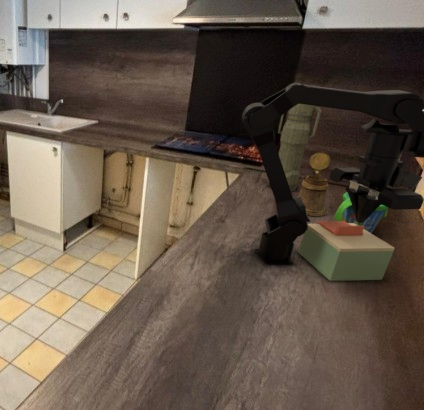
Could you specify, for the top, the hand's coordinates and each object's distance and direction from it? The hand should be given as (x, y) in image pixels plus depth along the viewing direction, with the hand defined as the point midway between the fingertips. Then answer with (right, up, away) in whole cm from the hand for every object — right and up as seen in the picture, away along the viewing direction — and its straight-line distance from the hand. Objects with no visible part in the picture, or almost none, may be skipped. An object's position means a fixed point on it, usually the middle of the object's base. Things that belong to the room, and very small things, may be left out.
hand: (359, 222), depth 80 cm
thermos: (+14, +10, +56) cm, 58 cm away
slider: (0, -2, +6) cm, 6 cm away
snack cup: (+17, -4, +24) cm, 30 cm away
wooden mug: (+13, +3, +38) cm, 40 cm away
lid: (0, -4, +4) cm, 5 cm away
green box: (0, -11, +7) cm, 13 cm away
